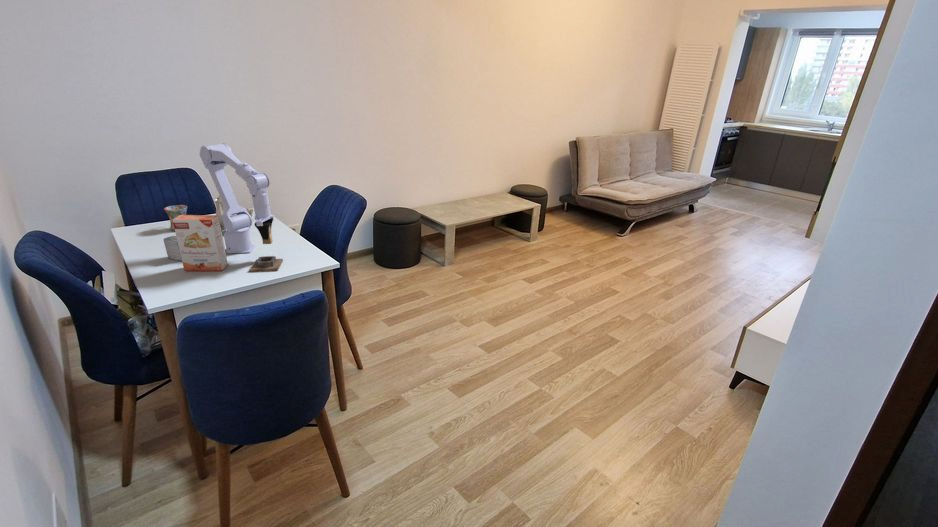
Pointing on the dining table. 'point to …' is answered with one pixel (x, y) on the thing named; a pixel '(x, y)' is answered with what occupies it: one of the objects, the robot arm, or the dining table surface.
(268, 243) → the wick block
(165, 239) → the medicine box
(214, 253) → the cracker box
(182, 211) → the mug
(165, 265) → the dining table surface
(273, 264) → the clip stand
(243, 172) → the robot arm
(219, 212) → the chinaware
